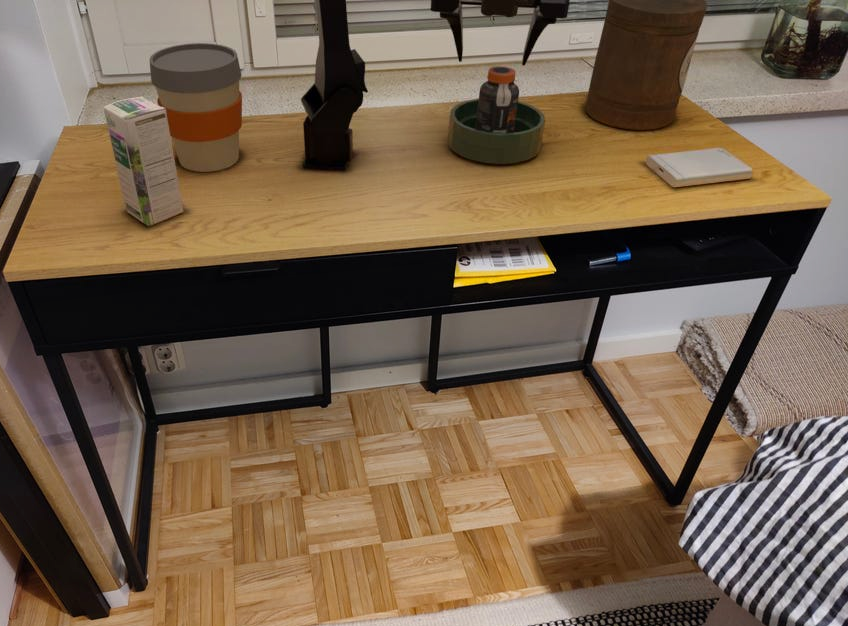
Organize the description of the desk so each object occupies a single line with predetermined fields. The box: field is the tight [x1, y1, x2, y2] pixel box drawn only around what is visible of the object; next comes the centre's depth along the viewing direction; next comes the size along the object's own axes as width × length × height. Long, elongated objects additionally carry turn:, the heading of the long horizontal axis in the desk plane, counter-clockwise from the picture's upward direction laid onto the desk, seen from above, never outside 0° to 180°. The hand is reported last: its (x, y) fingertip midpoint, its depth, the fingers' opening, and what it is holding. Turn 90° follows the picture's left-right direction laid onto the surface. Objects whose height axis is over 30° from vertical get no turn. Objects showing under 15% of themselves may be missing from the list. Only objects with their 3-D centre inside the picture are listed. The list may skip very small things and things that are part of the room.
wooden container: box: [584, 0, 708, 131], centre depth 115 cm, size 15×15×22 cm
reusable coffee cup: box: [149, 42, 243, 173], centre depth 103 cm, size 13×13×15 cm
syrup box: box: [102, 96, 184, 227], centre depth 91 cm, size 6×6×14 cm
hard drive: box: [644, 147, 754, 188], centre depth 105 cm, size 2×8×12 cm
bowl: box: [447, 97, 546, 165], centre depth 110 cm, size 14×14×5 cm
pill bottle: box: [475, 65, 520, 133], centre depth 107 cm, size 6×6×11 cm
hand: (491, 62), depth 104 cm, fingers open, 9 cm apart
